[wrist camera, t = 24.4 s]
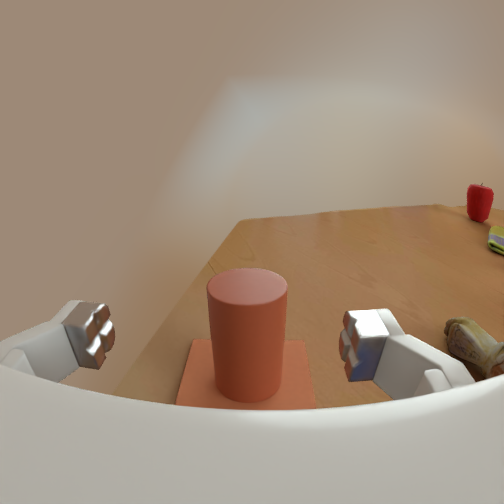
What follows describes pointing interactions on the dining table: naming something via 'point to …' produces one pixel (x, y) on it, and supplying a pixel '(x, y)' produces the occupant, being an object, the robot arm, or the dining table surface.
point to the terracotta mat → (208, 396)
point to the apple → (479, 202)
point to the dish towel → (496, 239)
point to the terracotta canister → (247, 332)
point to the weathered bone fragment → (475, 345)
